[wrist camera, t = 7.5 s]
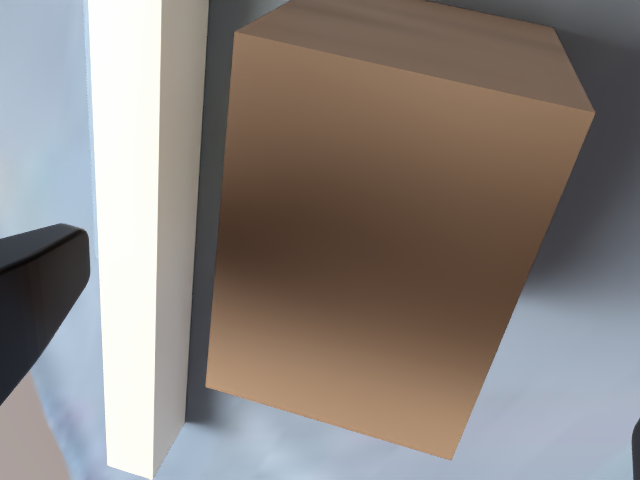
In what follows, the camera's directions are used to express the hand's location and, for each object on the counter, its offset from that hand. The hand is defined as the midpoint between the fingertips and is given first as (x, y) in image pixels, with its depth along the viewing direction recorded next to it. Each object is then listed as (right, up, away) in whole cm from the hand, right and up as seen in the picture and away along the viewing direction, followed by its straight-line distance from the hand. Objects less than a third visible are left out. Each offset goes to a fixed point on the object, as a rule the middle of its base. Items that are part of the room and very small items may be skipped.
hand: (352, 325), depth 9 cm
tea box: (+2, +4, +6) cm, 7 cm away
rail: (-4, +5, +6) cm, 9 cm away
